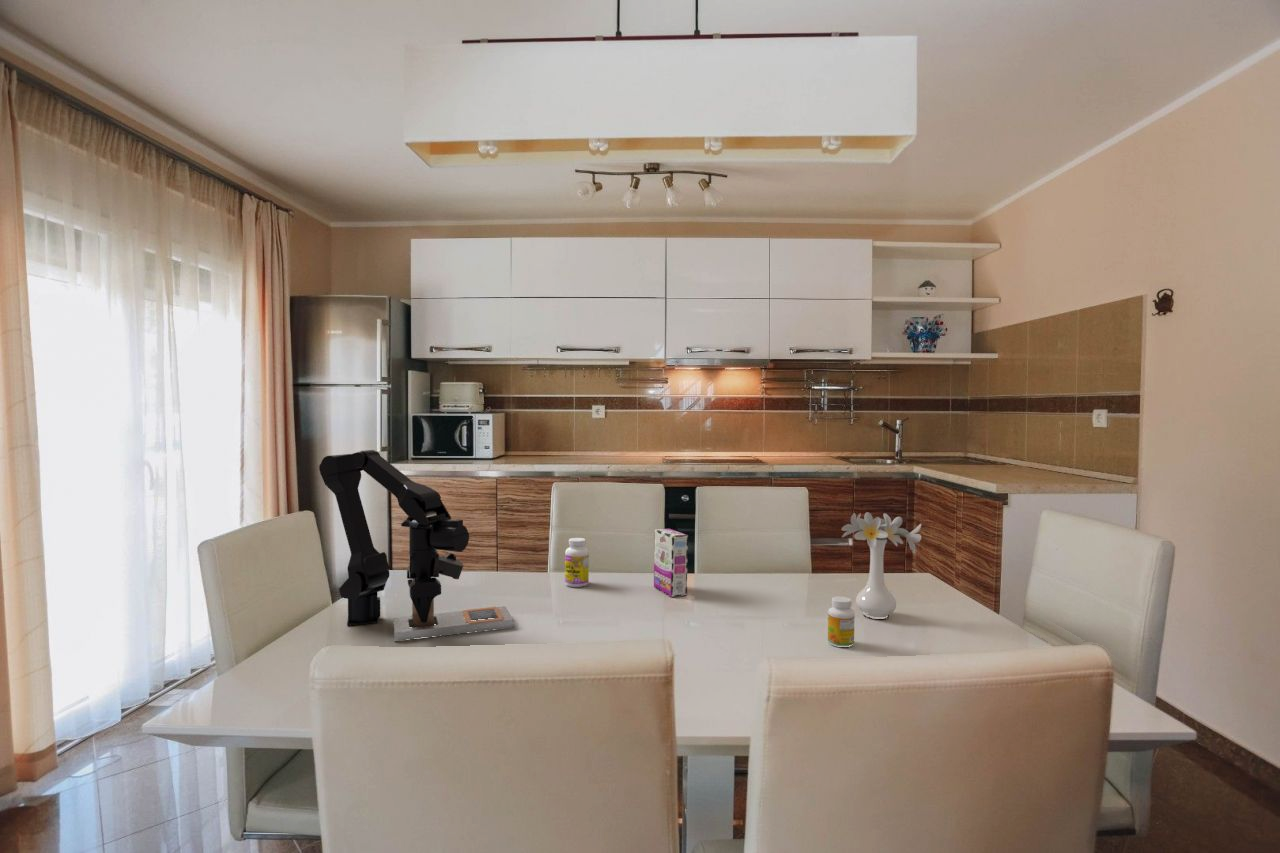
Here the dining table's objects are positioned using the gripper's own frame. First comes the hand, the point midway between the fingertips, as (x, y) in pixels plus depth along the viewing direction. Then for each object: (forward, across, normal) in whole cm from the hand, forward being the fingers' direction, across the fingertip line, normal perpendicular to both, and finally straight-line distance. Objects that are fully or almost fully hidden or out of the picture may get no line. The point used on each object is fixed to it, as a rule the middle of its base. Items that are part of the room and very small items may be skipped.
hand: (423, 617), depth 143 cm
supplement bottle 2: (+3, -39, -82) cm, 91 cm away
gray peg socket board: (+3, 0, -6) cm, 7 cm away
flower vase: (+3, -27, -104) cm, 107 cm away
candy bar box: (+3, +9, -64) cm, 65 cm away
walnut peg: (+3, 0, 0) cm, 3 cm away
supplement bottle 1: (+3, +24, -42) cm, 49 cm away
